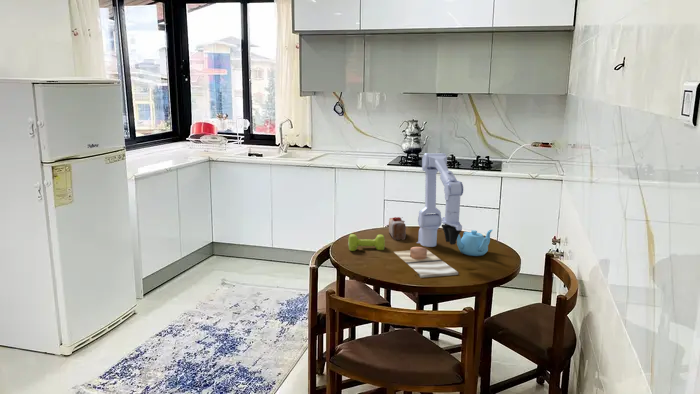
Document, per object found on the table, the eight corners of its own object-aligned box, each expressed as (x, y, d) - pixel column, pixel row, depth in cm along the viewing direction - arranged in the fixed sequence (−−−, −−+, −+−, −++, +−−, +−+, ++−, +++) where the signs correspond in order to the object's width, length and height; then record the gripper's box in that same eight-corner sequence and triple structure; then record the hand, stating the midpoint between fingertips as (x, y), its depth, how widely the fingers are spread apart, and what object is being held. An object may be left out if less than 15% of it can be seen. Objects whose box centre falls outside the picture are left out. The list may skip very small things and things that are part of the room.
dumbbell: (348, 252, 231) (348, 237, 229) (348, 247, 238) (348, 232, 237) (385, 253, 231) (385, 237, 229) (383, 248, 238) (384, 232, 237)
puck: (407, 255, 225) (408, 247, 224) (422, 254, 227) (423, 246, 226) (413, 260, 218) (414, 252, 218) (429, 258, 220) (429, 251, 219)
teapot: (460, 246, 243) (462, 225, 241) (493, 250, 237) (495, 229, 235) (453, 254, 230) (454, 232, 228) (487, 259, 224) (488, 236, 222)
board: (393, 253, 230) (393, 251, 229) (426, 251, 234) (426, 249, 234) (420, 277, 200) (420, 275, 200) (458, 274, 204) (458, 272, 204)
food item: (386, 232, 264) (387, 213, 262) (402, 232, 265) (402, 213, 263) (391, 240, 251) (392, 220, 249) (408, 240, 252) (408, 220, 250)
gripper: (435, 207, 218) (434, 238, 220) (451, 215, 204) (449, 248, 207) (451, 206, 219) (449, 237, 222) (467, 214, 206) (465, 247, 208)
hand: (450, 242), depth 214 cm, fingers open, 3 cm apart
